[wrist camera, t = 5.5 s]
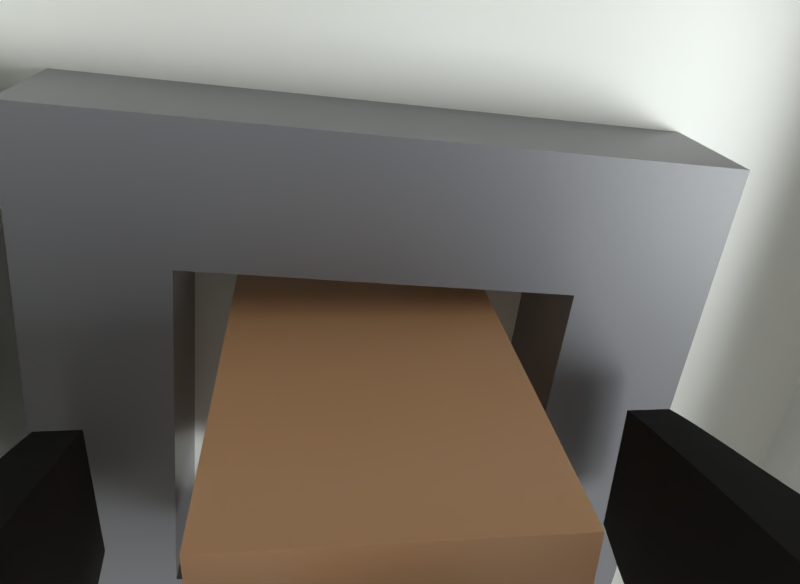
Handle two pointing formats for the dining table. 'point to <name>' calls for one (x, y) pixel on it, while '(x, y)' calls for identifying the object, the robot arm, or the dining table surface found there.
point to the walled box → (511, 95)
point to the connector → (379, 446)
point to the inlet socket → (333, 258)
